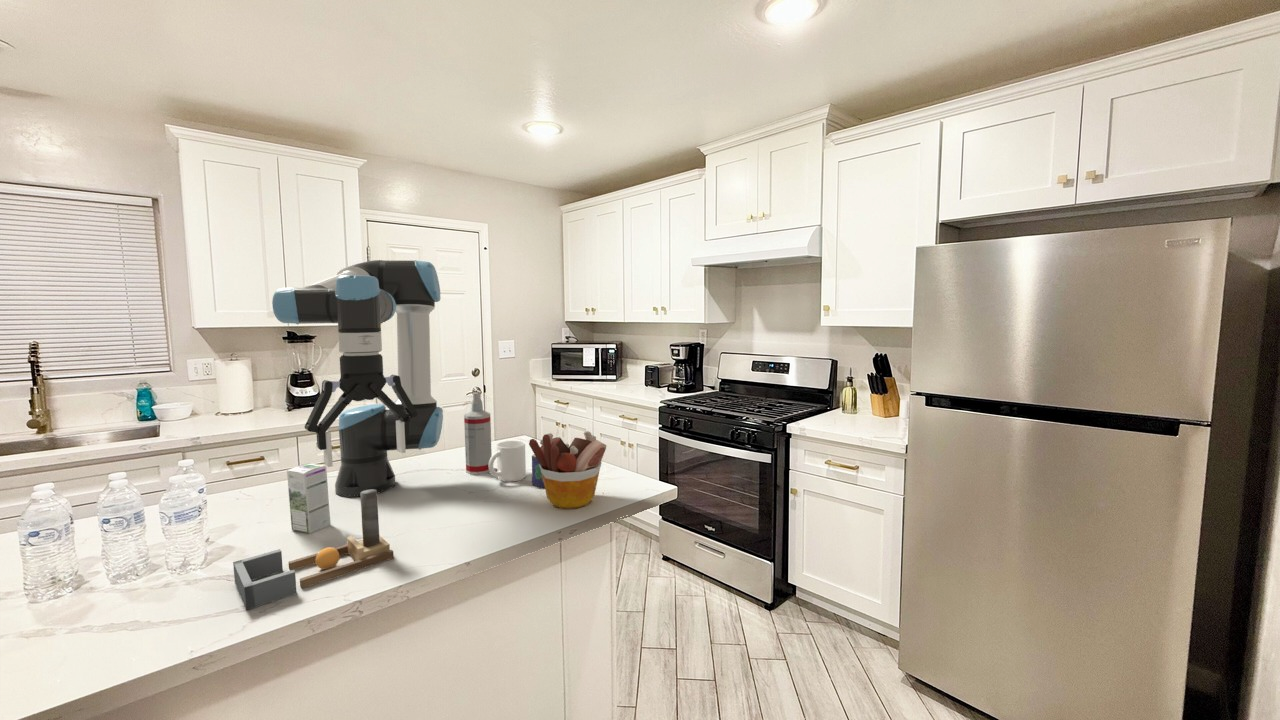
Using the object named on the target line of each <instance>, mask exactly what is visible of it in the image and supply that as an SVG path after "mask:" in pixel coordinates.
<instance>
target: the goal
mask: <svg viewBox="0 0 1280 720" xmlns="http://www.w3.org/2000/svg"><path fill="white" fill-rule="evenodd" d="M232 563H233V576H234V584H235V586H236V589H237V591H238V593H239V596H240V598H241V601H242V603H243V605H244V608H245V611H248V610H251V609H254V608H257V607H259V606H264V605H266V604H269V603H272V602H274V601H277V600H281V599H283V598H287V597H289V596H290V597H291V596H293V595H295V594H297V580H296V571H295V570H291V571H290V570H289V571H284V569H283V555H282V550H281V548H279V549H276V550H272V551H268V552H264V553H261V554H257V555H254V556H250V557H247V558H244V559H240V560H235V561H233V562H232ZM280 572H282V573H280ZM277 573H278V574H277ZM271 575H272V576H271ZM263 577H265V578H263ZM261 578H262V579H261ZM257 579H258V580H257ZM254 580H255V581H254Z"/></svg>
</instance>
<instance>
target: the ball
mask: <svg viewBox="0 0 1280 720" xmlns="http://www.w3.org/2000/svg"><path fill="white" fill-rule="evenodd" d="M335 548H336V547H325V548H322V549H321V550H320V551H318V552H317V553H318V554H317V556H316V563H315V564H316V566H317V567H318V568H319V569H322V570H329V569H332V568H335V566H337V564H338V563H339V561H340V556H339V552H338V551H337V550H336V549H335Z"/></svg>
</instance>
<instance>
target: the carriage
mask: <svg viewBox="0 0 1280 720" xmlns="http://www.w3.org/2000/svg"><path fill="white" fill-rule="evenodd" d="M359 497H360V512H361V528H362V529H361V531H362V539H361V540H359V541H358V540H357V539H356V538H355V537H354V536H350V537H347V538H346V541H347V544H348V553H347V554H348V555H349V556H351V558H352V559H353V561H357V560H360V559H363V558H366V557H370V556H373V555H376V554H379V553H382V552H385V551H388V550H391V547H390V543H389V542H388V541H386V540H385V539H384V538H383V537H382V536H381V535H380V525H379V505H378V503H379V502H378V493H377V490H375V489H370V490H365V491H362V492H361V493H360V496H359ZM347 544H346V545H347Z"/></svg>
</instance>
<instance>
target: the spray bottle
mask: <svg viewBox="0 0 1280 720" xmlns="http://www.w3.org/2000/svg"><path fill="white" fill-rule="evenodd" d="M481 395H482V394H481V392H472V401H471V410H470V411H468V412H467V413H464V414H463V420H464V421H463V424H464V447H465V448H464V450H465V473H466V474H467V473H468V474H467V475H469V474H470V476H481V475H486V474H489V473H490V471H489V460H490V458H491V456H492V455H493V454H492V453H493V452H492V430H491V429H492V426H491V425H492V423H491V421H492V419H491V412H489V411H485V410H484V408H483V401H482V397H481Z"/></svg>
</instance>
